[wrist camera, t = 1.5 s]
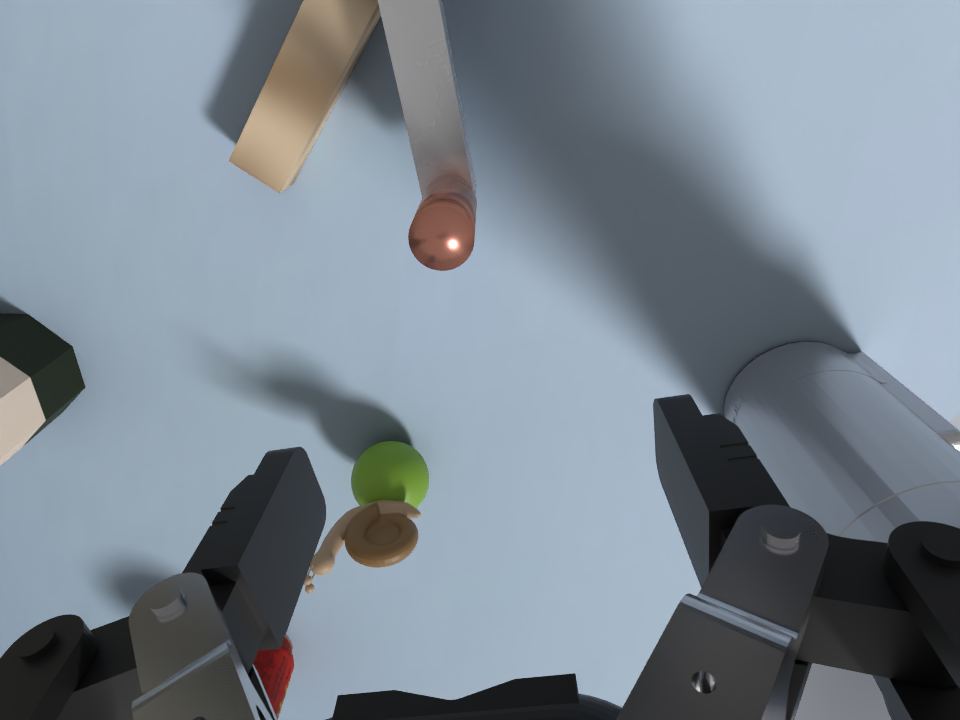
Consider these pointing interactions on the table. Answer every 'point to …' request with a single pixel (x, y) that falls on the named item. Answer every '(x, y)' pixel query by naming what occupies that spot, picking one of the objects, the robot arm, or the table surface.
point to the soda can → (275, 672)
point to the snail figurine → (378, 510)
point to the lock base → (303, 88)
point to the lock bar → (433, 131)
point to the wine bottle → (32, 380)
